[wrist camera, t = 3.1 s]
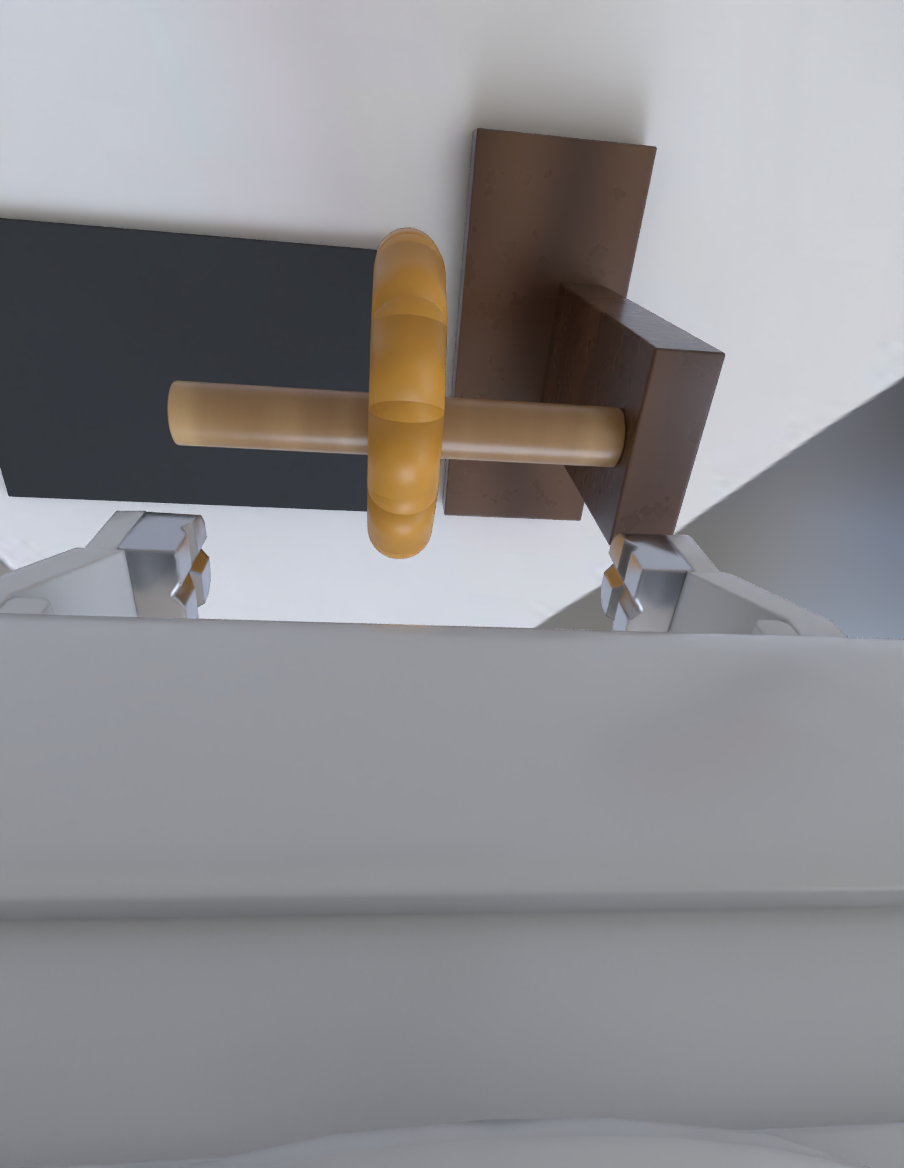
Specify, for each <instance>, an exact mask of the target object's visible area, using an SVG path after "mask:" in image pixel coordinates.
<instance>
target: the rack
mask: <svg viewBox="0 0 904 1168" xmlns="http://www.w3.org/2000/svg"><path fill="white" fill-rule="evenodd" d="M656 150H657V148H656V147H655V146H646V145H636V144H627V143H617V142H608V141H598V140H589V139H579V138H570V137H560V136H551V135H541V134H532V133H522V132H513V131H504V130H494V129H485V128H478V129H475V130H474V131H473V138H472V150H471V162H470V174H469V186H468V198H467V211H466V223H465V235H464V247H463V259H462V271H461V284H460V296H459V308H458V320H457V332H456V344H455V356H454V369H453V381H452V393H451V397H445V406H444V423H443V435H442V448H441V459H446V466H445V478H444V490H443V509H444V514H445V515H457V516H481V517H504V518H528V519H552V520H576V521H580V520H581V516H582V511H583V506H584V502H585V504H586V505H587V507H588V509H589V511H590V512H591V514H592V516H593V518H594V519H595V521H596V523H597V525H598V526H599V528H600V530H601V532H602V533H603V535H604V537H605V539H606V540H607V542H608V544H609V545H611V542H612V540H613V538H614V536H615V535H616V534H620V533H626V534H666V535H673V533H674V530H675V527H676V523H677V520H678V516H679V513H680V509H681V506H682V502H683V499H684V496H685V492H686V489H687V485H688V482H689V478H690V475H691V471H692V468H693V464H694V461H695V458H696V454H697V451H698V447H699V444H700V440H701V437H702V433H703V430H704V427H705V423H706V420H707V416H708V413H709V409H710V406H711V402H712V399H713V396H714V392H715V389H716V385H717V382H718V378H719V375H720V371H721V368H722V364H723V361H724V358H725V353H723V352H722V351H720V350H718V349H716V348H714V347H713V346H711V345H709V344H707V343H705V342H704V341H702V340H700V339H698V338H696V337H695V336H693V335H691V334H689V333H688V332H686V331H684V330H682V329H680V328H679V327H677V326H675V325H673V324H671V323H670V322H668V321H666V320H664V319H662V318H661V317H659V316H657V315H655V314H654V313H652V312H650V311H648V310H646V309H645V308H643V307H641V306H639V305H637V304H636V303H634V302H632V301H630V300H629V299H627V298H626V296H627V291H628V287H629V282H630V277H631V272H632V267H633V262H634V257H635V252H636V247H637V243H638V238H639V233H640V228H641V223H642V218H643V213H644V208H645V204H646V199H647V194H648V189H649V184H650V179H651V174H652V169H653V165H654V160H655V155H656ZM368 408H369V392H358V391H342V390H325V389H309V388H293V387H276V386H260V385H243V384H227V383H211V382H194V381H178V380H177V381H174V382H173V383H172V385H171V387H170V390H169V395H168V405H167V411H168V423H169V428H170V432H171V435H172V438H173V440H174V442H175V443H176V444H178V445H185V446H205V447H225V448H244V449H264V450H283V451H303V452H322V453H342V454H362V455H368Z"/></svg>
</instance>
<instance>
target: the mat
mask: <svg viewBox="0 0 904 1168" xmlns="http://www.w3.org/2000/svg"><path fill="white" fill-rule="evenodd" d="M376 253H377V250H374V249H362V248H350V247H338V246H326V245H315V244H303V243H291V242H279V241H267V240H255V239H243V238H231V237H219V236H207V235H196V234H184V233H172V232H160V231H148V230H136V229H124V228H112V227H100V226H88V225H77V224H65V223H53V222H41V221H29V220H17V219H5V218H0V468H1V471H2V475H3V478H4V482H5V485H6V488H7V492H8V495H9V496H12V497H36V498H60V499H84V500H108V501H132V502H155V503H179V504H203V505H227V506H251V507H274V508H298V509H322V510H346V511H367V467H368V455H362V454H342V453H322V452H303V451H283V450H264V449H244V448H225V447H205V446H185V445H178V444H176V443H175V442H174V440H173V438H172V435H171V432H170V428H169V423H168V411H167V405H168V395H169V390H170V387H171V385H172V383H173V382H174V381H177V380H178V381H194V382H211V383H227V384H243V385H260V386H276V387H293V388H309V389H325V390H342V391H358V392H369V375H370V341H371V314H372V294H373V273H374V263H375V258H376Z"/></svg>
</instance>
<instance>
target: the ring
mask: <svg viewBox="0 0 904 1168" xmlns="http://www.w3.org/2000/svg"><path fill="white" fill-rule="evenodd" d="M446 347H447V305H446V272H445V265H444V261H443V258H442V256H441V254H440V252H439V250H438V248H437V246H436V245H435V243H434V242H433V240H432V239H431V238H430V237H429V236H428V235H427V234H425V233H424V232H422V231H420V230H418V229H415V228H400V229H397V230H394V231H392V232H391V233H389V234H388V235H387V236H386V237H385V238H384V239H383V240H382V242H381V243H380V245H379V247H378V250H377V253H376V258H375V263H374V273H373V294H372V314H371V341H370V375H369V408H368V467H367V527H368V534H369V538H370V540H371V542H372V544H373V545H374V547H375V548H376V549H377V550H378V551H379V552H380V553H381V554H383V555H385V556H387V557H389V558H394V559H404V558H409V557H412V556H414V555H416V554H418V553H419V552H420V551H422V550H423V549H424V548H425V546H426V545H427V543H428V542H429V539H430V537H431V533H432V527H433V521H434V514H435V508H436V501H437V495H438V487H439V474H440V461H441V448H442V435H443V423H444V406H445V376H446Z"/></svg>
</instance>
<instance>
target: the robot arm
mask: <svg viewBox="0 0 904 1168" xmlns="http://www.w3.org/2000/svg"><path fill="white" fill-rule="evenodd" d="M206 538H207V536H206V529H205V522H204V520H203V518H202V516H201V515H189V514H173V513H156V512H146V511H116V512H115V513H114V514H113V515H112V517H111V518H110V519H109V520H108V521H107V523H106V524H105V525H104V526H103V527H102V528H101V530H100V531H99V532H98V533H97V534H96V535H95V537H94V538H93V539H92V540H91V541H90V542H89V544H88V545H87V546H86V547H85V548H74V549H71V550H68V551H66V552H63V553H60V554H57V555H55V556H52V557H49V558H46V559H44V560H41V561H38V562H35V563H33V564H30V565H27V566H24V567H22V568H19V569H16V570H13V571H11V572H8V573H5V574H2V575H0V1168H904V639H889V638H856V637H848V636H847V635H846V634H845V633H844V632H843V631H842V630H841V629H840V628H839V627H838V626H837V625H836V624H835V623H834V622H833V621H832V620H829V619H827V618H825V617H823V616H821V615H818V614H816V613H814V612H812V611H810V610H808V609H805V608H803V607H801V606H799V605H797V604H794V603H792V602H790V601H788V600H786V599H784V598H781V597H779V596H777V595H775V594H773V593H771V592H768V591H766V590H764V589H762V588H760V587H757V586H755V585H753V584H751V583H748V582H747V581H744V580H742V579H740V578H738V577H736V576H734V575H731V574H729V573H724V572H719V570H718V569H717V568H716V567H715V565H714V564H713V563H712V562H711V561H710V559H709V558H708V557H707V556H706V555H705V553H704V552H703V551H702V550H701V548H700V547H699V546H698V545H697V544H696V543H695V541H694V540H693V539H692V537H691V536H687V535H666V534H626V533H620V534H616V535H615V536H614V538H613V540H612V542H611V546H610V550H609V555H610V557H611V559H612V561H613V564H612V565H611V566H610V567H609V568H608V569H607V570H606V571H605V572H604V576H603V581H602V586H601V601H602V607H603V610H604V612H605V614H606V616H607V617H609V618H611V619H612V620H614V623H613V628H612V629H613V631H610V630H575V629H541V628H506V627H471V626H436V625H401V624H366V623H332V622H297V621H262V620H227V619H198V617H199V615H198V607H199V606H201V605H203V604H204V603H205V601H206V599H207V597H208V594H209V587H210V581H211V571H210V560H209V557H208V556H207V555H206V553H205V552H204V551H203V550H202V549H201V547H202V545H203V543H204V542H205V540H206Z"/></svg>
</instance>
